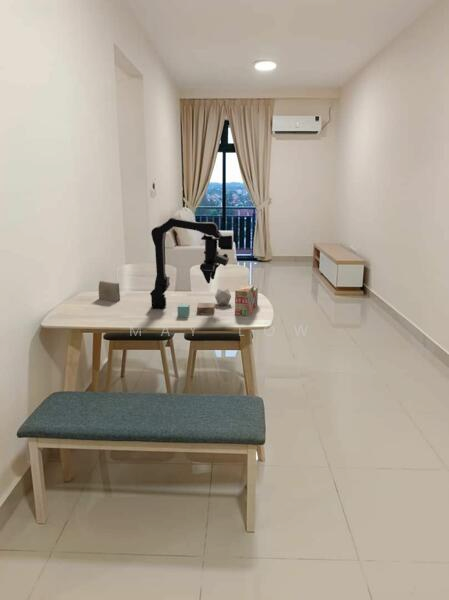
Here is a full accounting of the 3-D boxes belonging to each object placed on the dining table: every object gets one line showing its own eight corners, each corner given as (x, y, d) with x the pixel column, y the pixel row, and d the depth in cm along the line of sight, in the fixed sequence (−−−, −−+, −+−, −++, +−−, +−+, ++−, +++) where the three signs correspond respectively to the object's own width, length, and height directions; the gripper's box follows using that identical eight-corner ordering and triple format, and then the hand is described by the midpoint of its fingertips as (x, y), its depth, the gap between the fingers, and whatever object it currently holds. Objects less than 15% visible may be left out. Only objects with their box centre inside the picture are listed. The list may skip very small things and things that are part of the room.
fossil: (120, 300, 234) (119, 282, 231) (116, 302, 231) (115, 284, 228) (103, 297, 239) (102, 280, 236) (98, 299, 236) (97, 281, 233)
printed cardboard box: (245, 303, 229) (246, 280, 226) (257, 304, 228) (258, 281, 224) (234, 315, 210) (235, 289, 206) (247, 316, 208) (248, 291, 205)
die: (225, 308, 222) (235, 292, 223) (210, 299, 222) (220, 283, 223) (225, 309, 230) (234, 294, 231) (211, 301, 231) (220, 285, 231)
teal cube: (177, 317, 206) (177, 306, 205) (179, 313, 211) (178, 303, 210) (188, 317, 206) (188, 306, 205) (189, 313, 211) (189, 303, 210)
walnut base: (197, 313, 212) (196, 307, 211) (198, 308, 219) (198, 302, 219) (213, 313, 211) (213, 307, 211) (214, 308, 219) (214, 303, 218)
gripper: (223, 253, 201) (223, 286, 206) (231, 247, 219) (230, 278, 223) (199, 251, 203) (199, 285, 208) (209, 246, 221) (208, 276, 225)
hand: (210, 281), depth 216 cm, fingers open, 9 cm apart
